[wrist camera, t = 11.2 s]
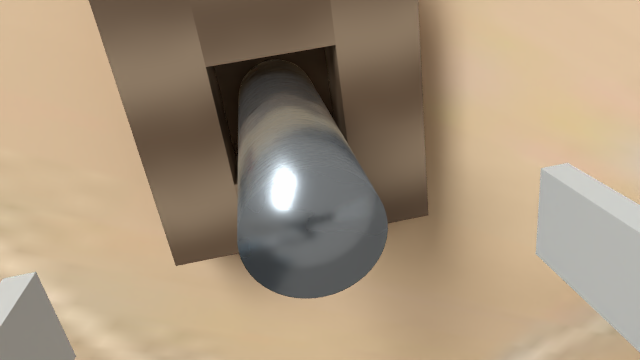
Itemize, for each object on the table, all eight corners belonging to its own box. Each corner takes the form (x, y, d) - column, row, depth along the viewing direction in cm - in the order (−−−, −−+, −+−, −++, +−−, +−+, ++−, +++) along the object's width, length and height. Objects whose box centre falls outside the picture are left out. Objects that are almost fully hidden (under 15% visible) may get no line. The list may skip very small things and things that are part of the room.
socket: (405, 184, 30) (428, 215, 27) (183, 228, 29) (175, 265, 26) (389, -61, 24) (415, -65, 21) (108, -18, 23) (84, -14, 20)
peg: (318, 126, 28) (392, 281, 14) (247, 139, 28) (254, 311, 14) (308, 53, 26) (381, 152, 13) (231, 66, 26) (220, 183, 12)
